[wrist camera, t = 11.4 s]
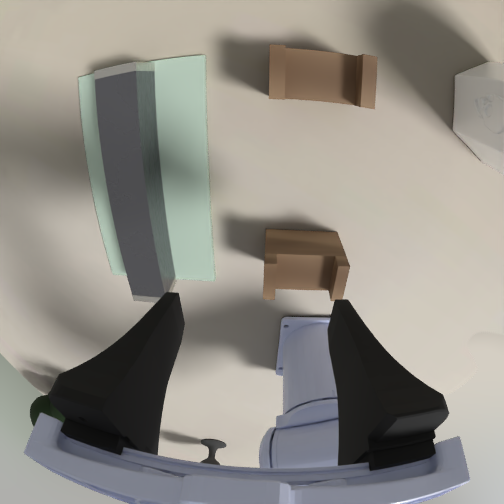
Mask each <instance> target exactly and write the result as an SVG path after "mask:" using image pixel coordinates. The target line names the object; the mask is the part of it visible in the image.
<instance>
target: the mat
mask: <svg viewBox="0 0 504 504" xmlns="http://www.w3.org/2000/svg"><path fill="white" fill-rule="evenodd" d="M147 63H155V98H156V117H157V131H158V144H159V156H160V166H161V176H162V185H163V194H164V202H165V210H166V218H167V225H168V232H169V239H170V246H171V252H172V258H173V264H174V270H175V275H176V279H183V280H199V281H215V279H216V277H215V264H214V251H213V237H212V221H211V205H210V186H209V165H208V140H207V105H206V55H199V56H188V57H179V58H170V59H163V60H156V61H150V62H147ZM78 80H79V97H80V110H81V120H82V129H83V137H84V145H85V152H86V159H87V165H88V171H89V177H90V182H91V188H92V193H93V198H94V203H95V207H96V212H97V216H98V221H99V225H100V229H101V233H102V237H103V241H104V245H105V248H106V252H107V256H108V259H109V263H110V266H111V270H112V273H113V275H125V276H127V274H126V270H125V267H124V263H123V259H122V255H121V251H120V247H119V243H118V239H117V235H116V230H115V226H114V221H113V216H112V212H111V207H110V201H109V196H108V191H107V185H106V179H105V173H104V167H103V160H102V153H101V145H100V137H99V128H98V118H97V107H96V93H95V80H94V73H93V74H90V75H86V76H82V77H79V78H78Z"/></svg>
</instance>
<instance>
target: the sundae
mask: <svg viewBox="0 0 504 504" xmlns="http://www.w3.org/2000/svg"><path fill="white" fill-rule="evenodd" d="M201 443H202V444H203V445H205V446H207V447H208V448H209V456H208V458H207V459H205V460H203V461H202V462H200V463H206V464H214V465H220V464H219V462H218V461H216V459H215V453H216V450H217V449H218V448H224V447H226V444H225V443H224V442H221V441H218V440H213V439H204V440H202V441H201Z"/></svg>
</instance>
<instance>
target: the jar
mask: <svg viewBox="0 0 504 504" xmlns="http://www.w3.org/2000/svg"><path fill="white" fill-rule="evenodd" d="M453 131H454V133H455V134H456V135H457V136H458V137H459V138H460V139H461V140H462V141H463V142H464V143H465V144H466V145H467V146H468V147H469V148H470V149H471V150H472V151H473V152H474V154H475V155H476V156H477V157H478V158H479V159H480V160H481V161H482V163H484V164H485V165H487V166H489V167H491V168H492V169H494V170H496V171H497V172H499V173H501V174H502V175H504V63H501V62H487V63H484V64H481V65H479V66H476V67H474V68H471V69H469V70H466V71H464V72H461V73H459V74H456V75H455V96H454V118H453Z"/></svg>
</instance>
